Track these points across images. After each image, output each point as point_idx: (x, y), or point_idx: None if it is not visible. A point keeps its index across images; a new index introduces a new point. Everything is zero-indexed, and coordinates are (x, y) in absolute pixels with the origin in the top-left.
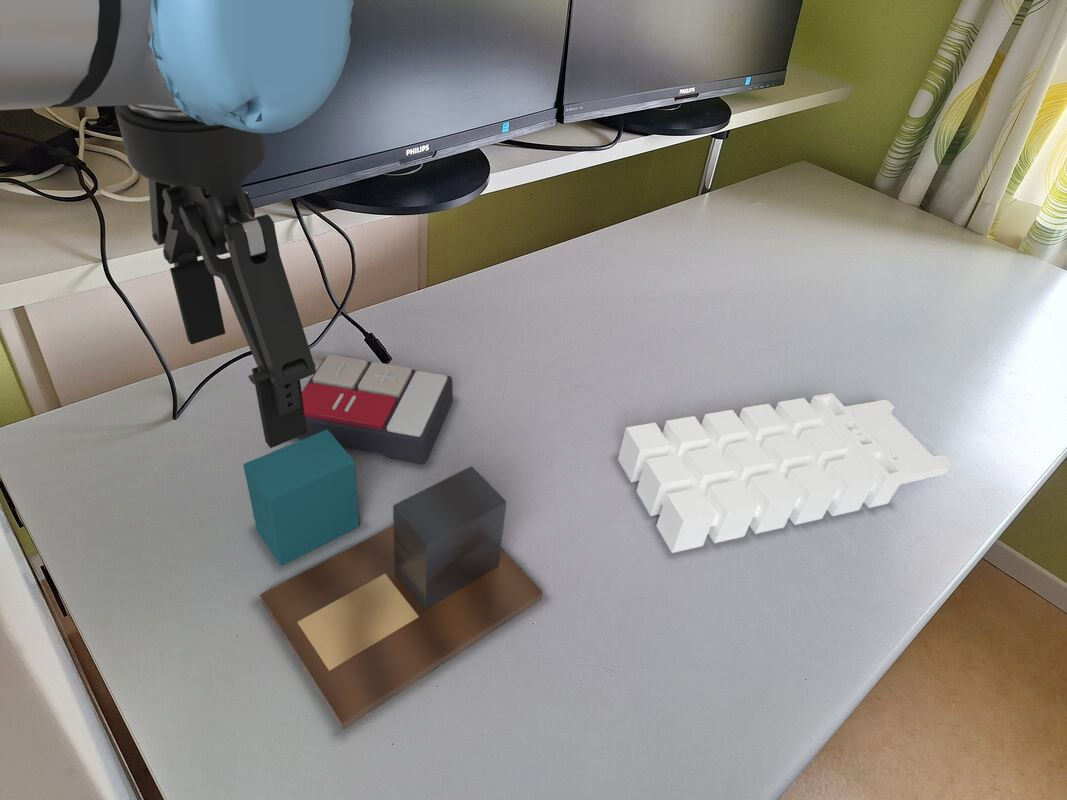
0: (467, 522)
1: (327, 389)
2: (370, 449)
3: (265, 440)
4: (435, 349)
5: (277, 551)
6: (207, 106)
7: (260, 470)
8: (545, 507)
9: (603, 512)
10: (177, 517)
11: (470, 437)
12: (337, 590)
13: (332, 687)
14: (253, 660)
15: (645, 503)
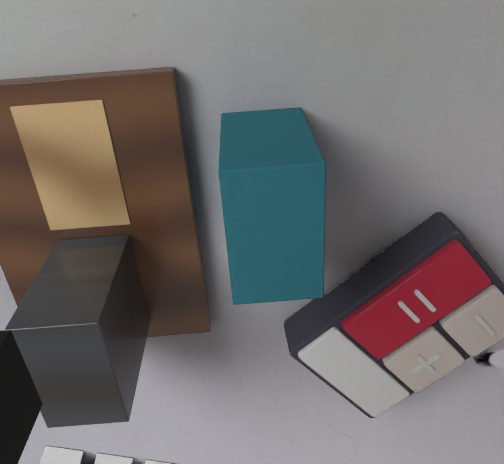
0: None
1: (459, 297)
2: (340, 287)
3: (5, 335)
4: (454, 405)
5: (223, 123)
6: None
7: (293, 182)
8: (155, 389)
9: (122, 425)
10: (397, 9)
11: (294, 376)
12: (131, 164)
13: None
14: (84, 20)
15: (110, 458)
